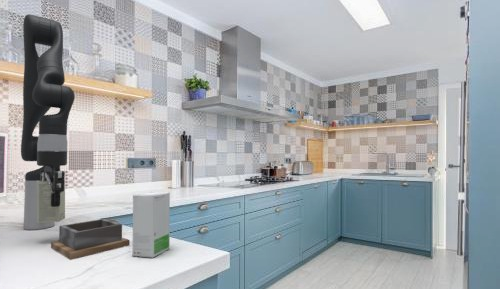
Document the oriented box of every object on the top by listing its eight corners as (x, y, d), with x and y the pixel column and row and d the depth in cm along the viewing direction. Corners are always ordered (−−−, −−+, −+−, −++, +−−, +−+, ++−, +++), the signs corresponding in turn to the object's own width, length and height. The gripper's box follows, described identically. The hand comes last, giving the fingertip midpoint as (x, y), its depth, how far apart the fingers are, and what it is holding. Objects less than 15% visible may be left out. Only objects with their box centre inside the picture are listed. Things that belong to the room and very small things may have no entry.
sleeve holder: (50, 247, 80) (51, 226, 81) (105, 236, 92) (106, 217, 92) (70, 259, 71) (71, 234, 71) (129, 245, 82) (129, 224, 83)
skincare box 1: (65, 219, 89) (66, 179, 90) (59, 222, 85) (60, 181, 85) (42, 219, 88) (43, 180, 88) (34, 223, 83) (36, 181, 84)
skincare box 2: (152, 258, 71) (153, 195, 72) (129, 256, 73) (130, 194, 74) (170, 248, 79) (171, 191, 80) (149, 246, 81) (150, 191, 82)
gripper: (30, 149, 89) (29, 203, 88) (45, 149, 80) (43, 209, 79) (58, 150, 94) (57, 200, 94) (75, 150, 85) (74, 206, 85)
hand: (51, 204), depth 86 cm, fingers closed on skincare box 1, 7 cm apart
